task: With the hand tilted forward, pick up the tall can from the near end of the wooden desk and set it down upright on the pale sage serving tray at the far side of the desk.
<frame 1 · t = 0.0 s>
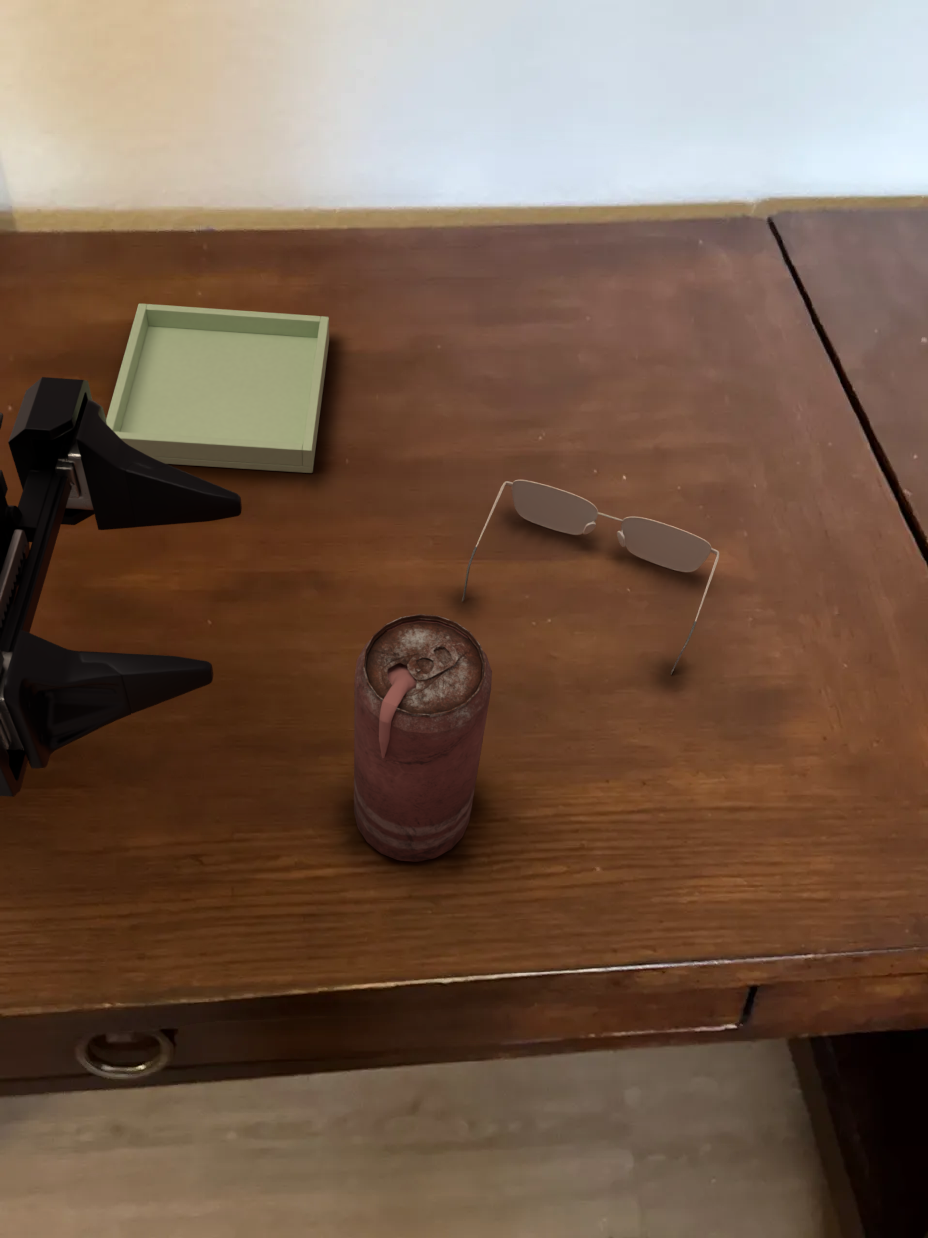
hand: (227, 584, 52), 16 cm above the table, tool horizontal, fingers open, 9 cm apart
can: (410, 817, 64), on the table
tray: (223, 396, 82), on the table
eyeglasses: (584, 592, 74), on the table
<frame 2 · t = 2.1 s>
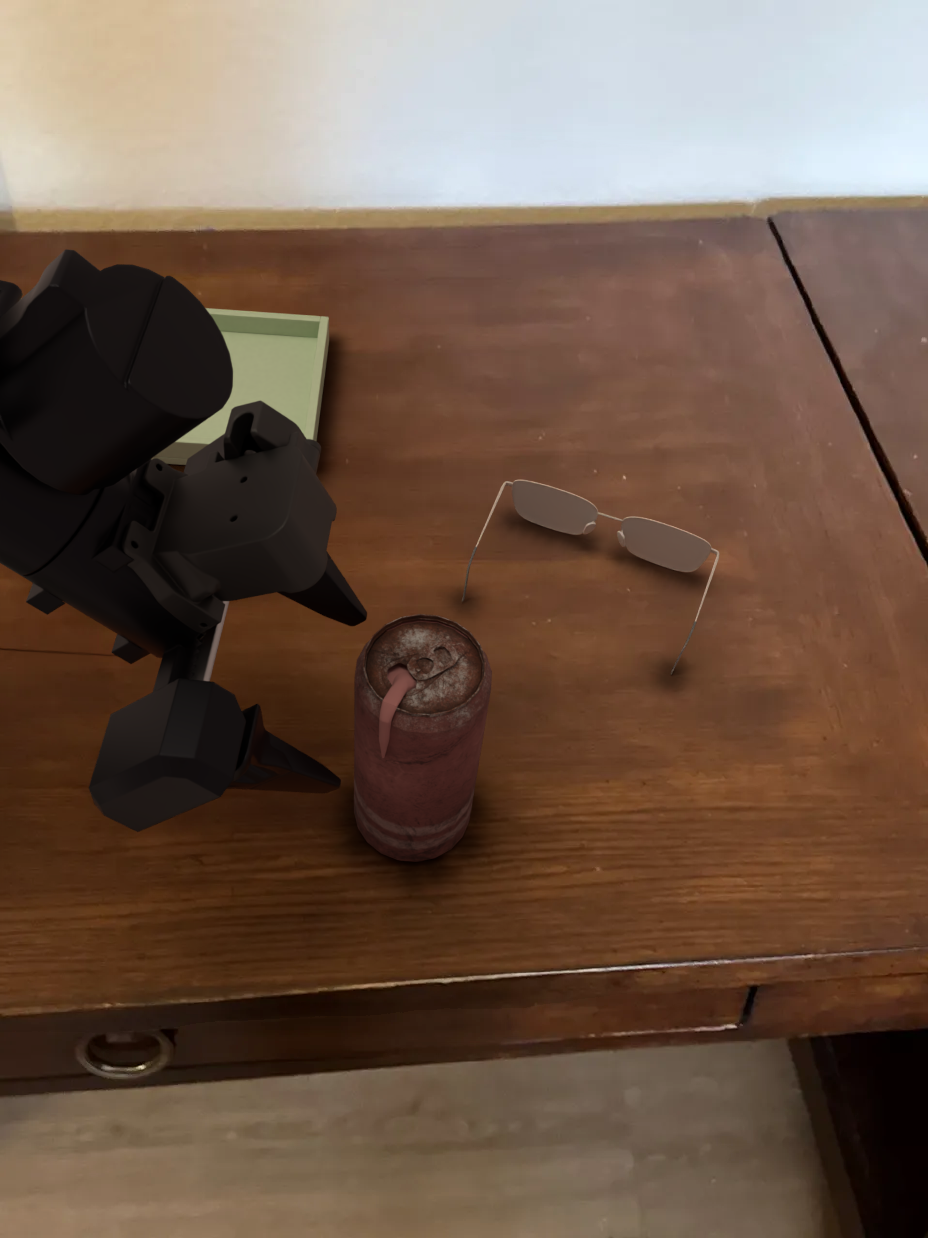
hand: (348, 699, 56), 10 cm above the table, tool tilted 45°, fingers open, 9 cm apart
nothing on the table moved.
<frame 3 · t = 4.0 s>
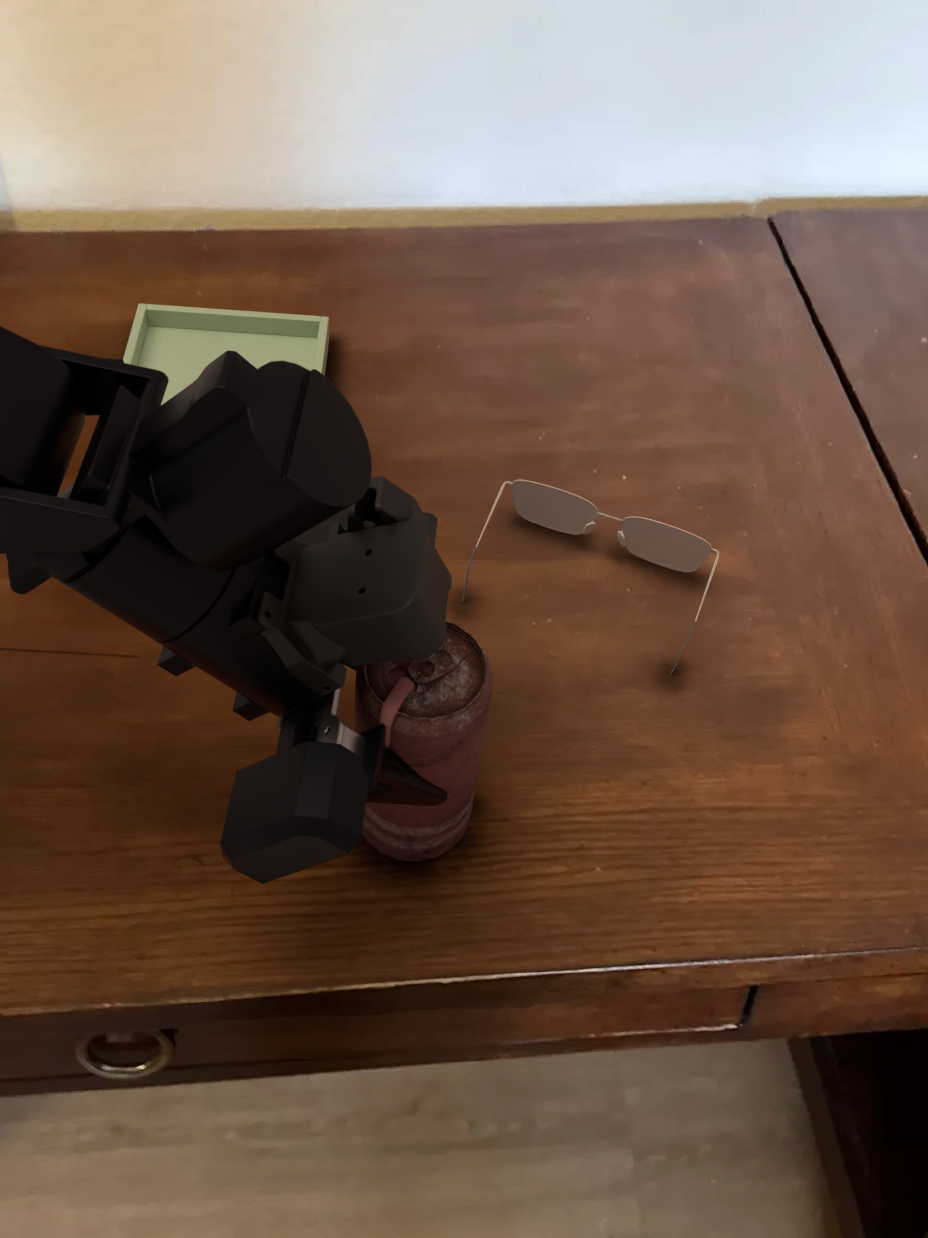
hand: (445, 751, 58), 7 cm above the table, tool tilted 45°, fingers closed on can, 5 cm apart
can: (411, 816, 64), on the table, touching gripper
everything else where it was.
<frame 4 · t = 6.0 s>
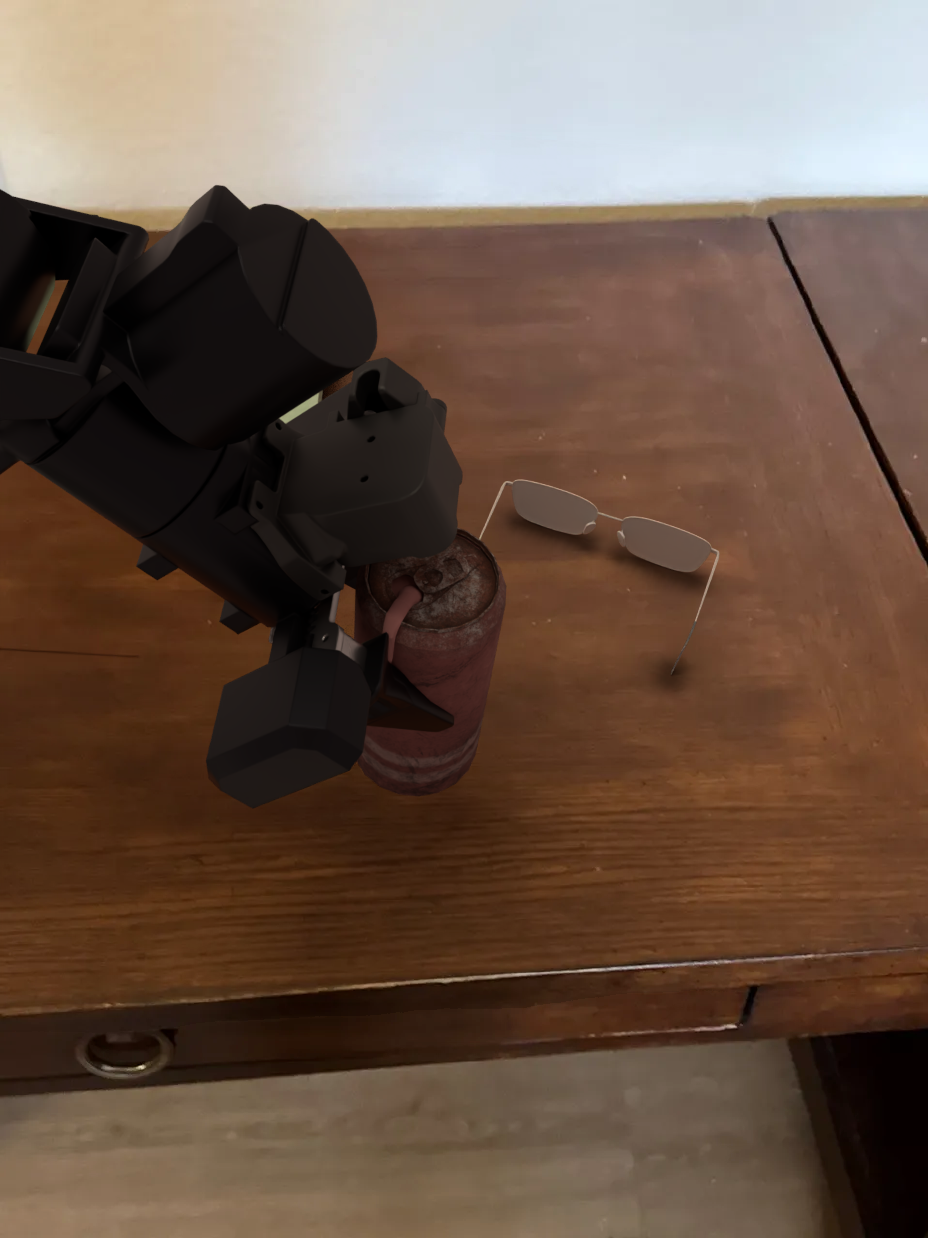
hand: (451, 675, 54), 13 cm above the table, tool tilted 45°, fingers closed on can, 5 cm apart
can: (412, 749, 60), point 6 cm above the table, touching gripper
everything else where it was.
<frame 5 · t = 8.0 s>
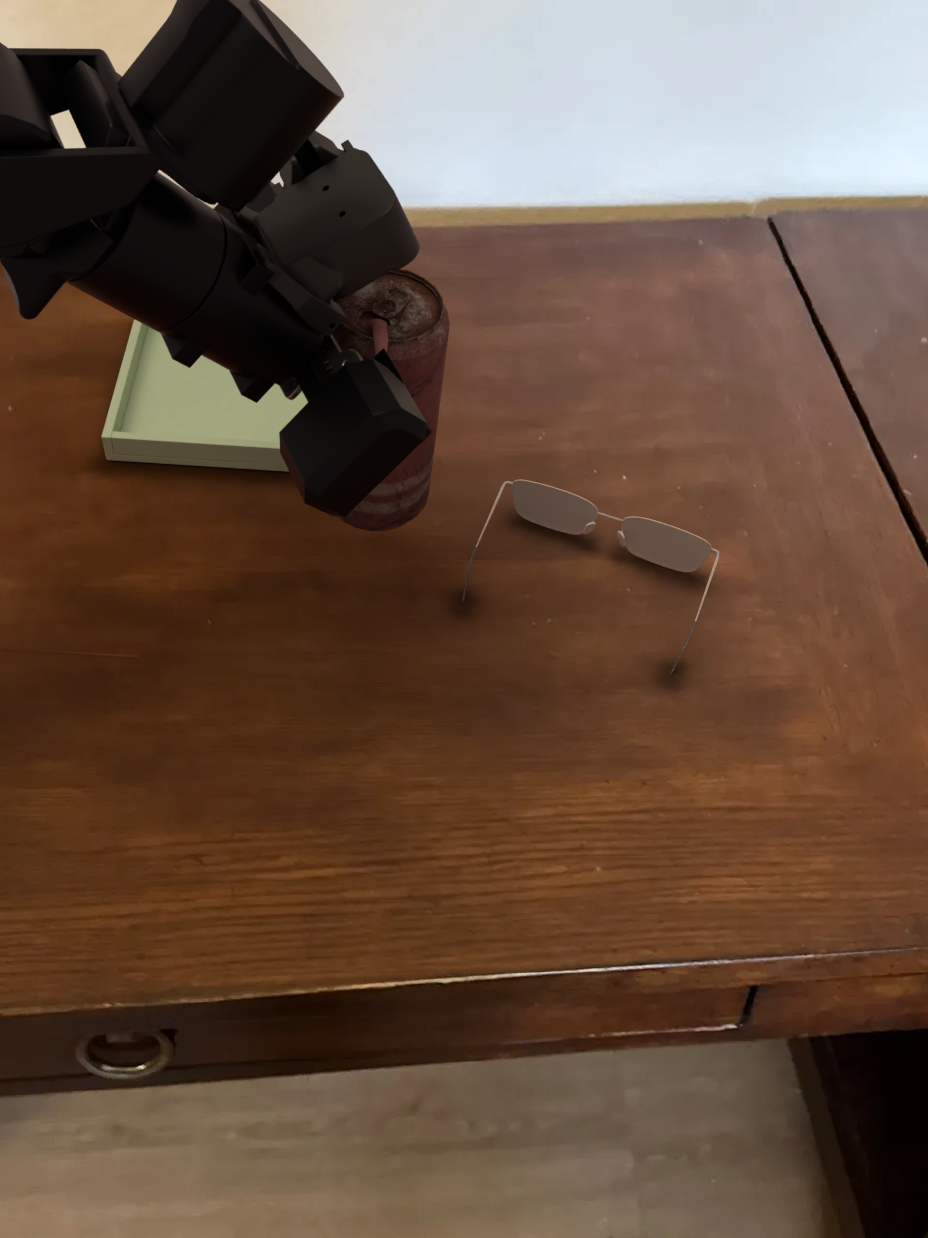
hand: (405, 403, 64), 13 cm above the table, tool tilted 45°, fingers closed on can, 5 cm apart
can: (374, 498, 69), point 6 cm above the table, touching gripper
everything else where it was.
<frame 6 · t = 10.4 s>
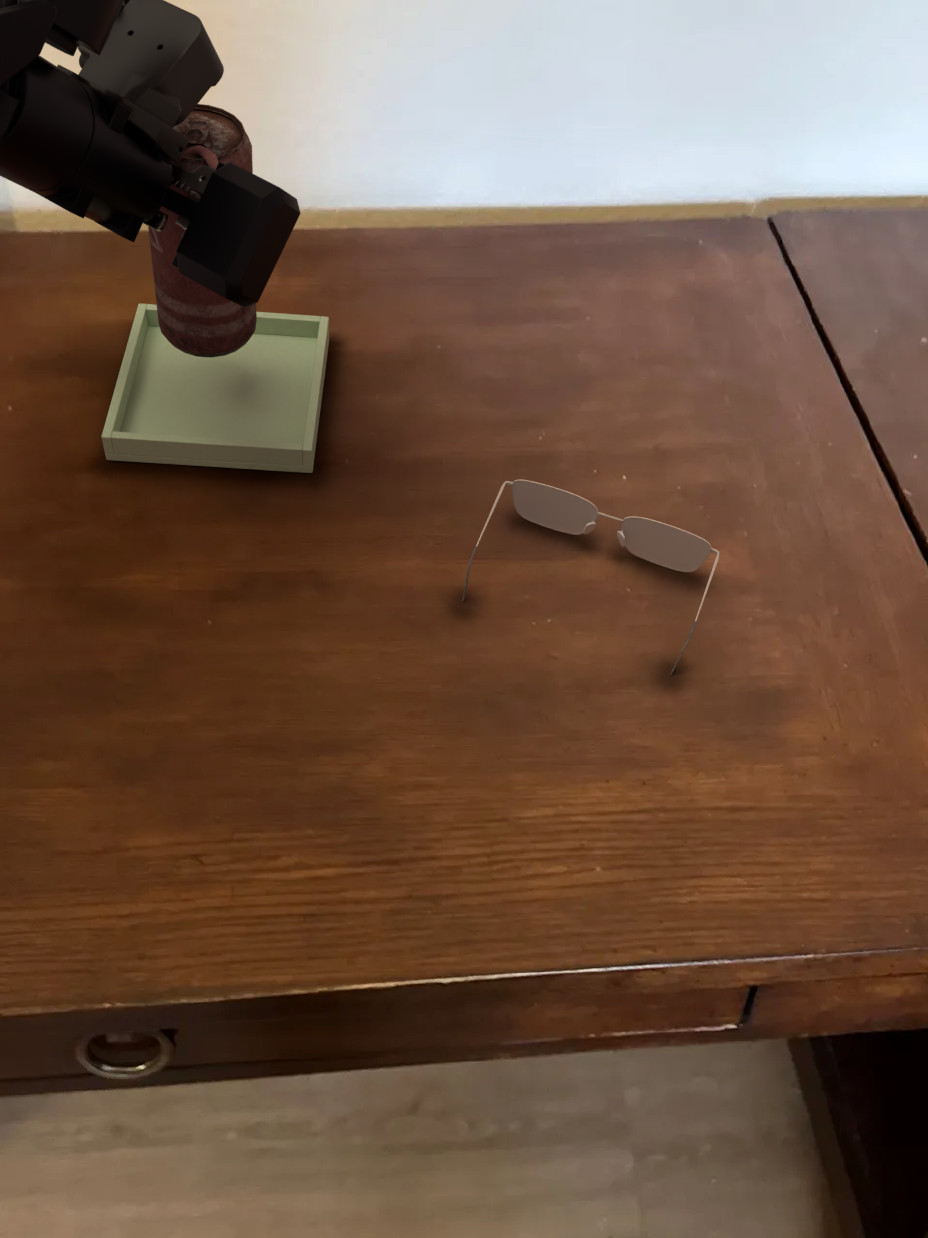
hand: (220, 228, 73), 13 cm above the table, tool tilted 45°, fingers closed on can, 5 cm apart
can: (209, 332, 78), point 5 cm above the table, touching gripper
everything else where it was.
when the fingers open (8 cm above the table, at t = 12.2 s): can stays where it is, resting on tray.
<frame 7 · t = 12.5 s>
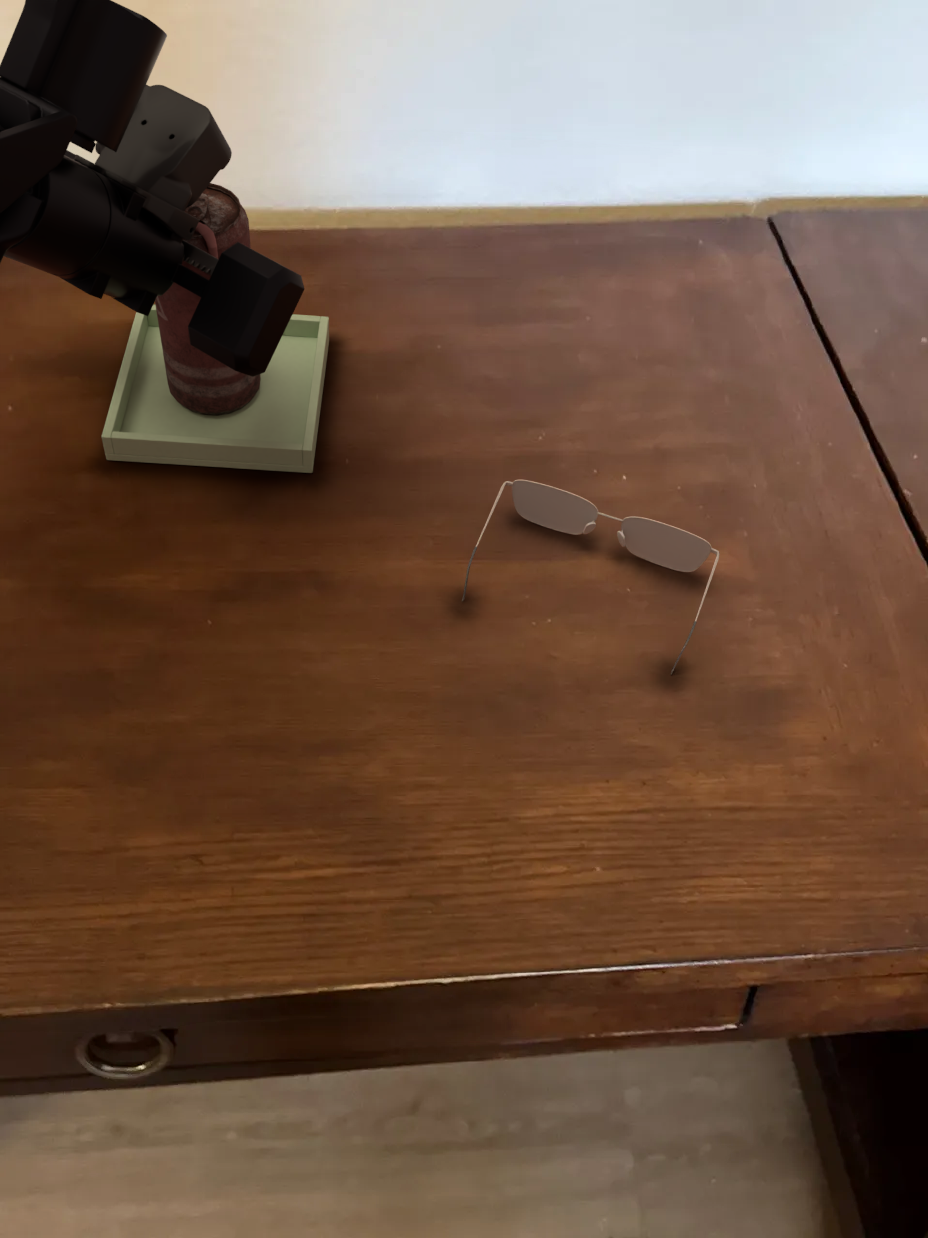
hand: (228, 292, 77), 8 cm above the table, tool tilted 45°, fingers open, 8 cm apart
can: (216, 391, 82), resting on tray
everything else where it was.
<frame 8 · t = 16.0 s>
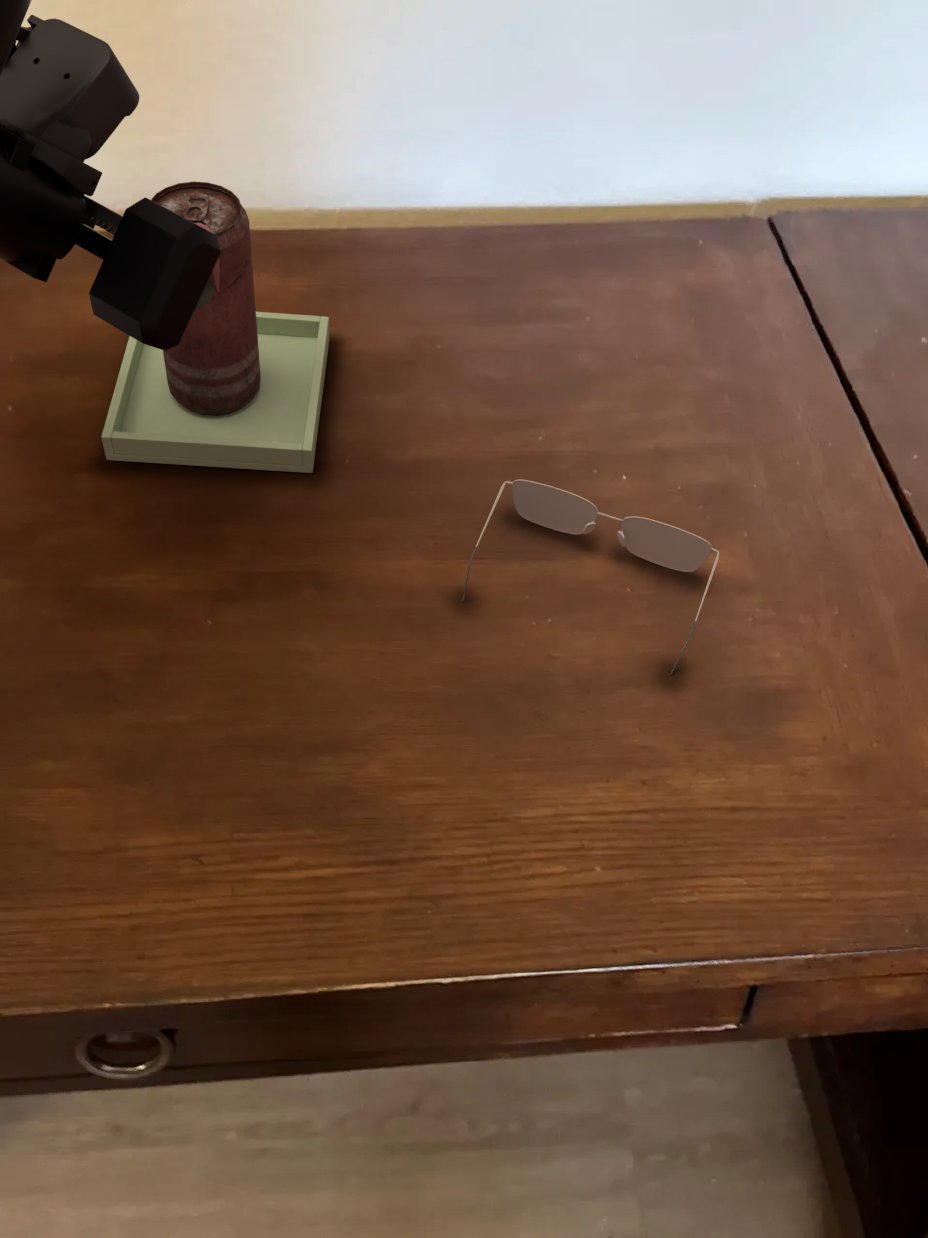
hand: (149, 260, 69), 14 cm above the table, tool tilted 45°, fingers open, 9 cm apart
nothing on the table moved.
at the end: can inside the target area in the tray (0.5 cm from its centre), point 0.4 cm above the tray's base; can tilted 0°; the gripper is holding nothing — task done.
